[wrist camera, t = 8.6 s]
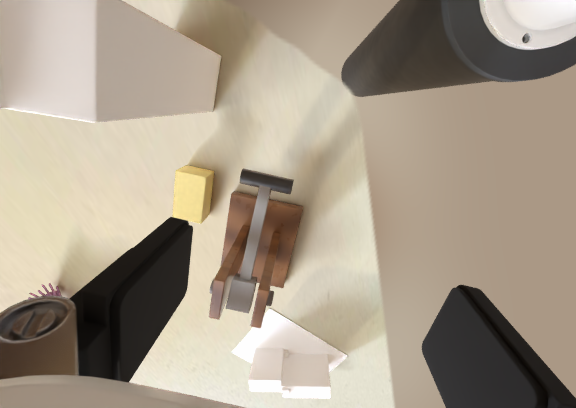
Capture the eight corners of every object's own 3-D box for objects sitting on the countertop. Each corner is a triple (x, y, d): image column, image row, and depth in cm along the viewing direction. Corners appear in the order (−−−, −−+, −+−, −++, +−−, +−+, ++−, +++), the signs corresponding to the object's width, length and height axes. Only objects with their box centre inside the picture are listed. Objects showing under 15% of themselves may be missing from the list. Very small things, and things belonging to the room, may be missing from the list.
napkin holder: (349, 355, 43) (355, 391, 38) (306, 394, 47) (306, 432, 41) (269, 307, 41) (263, 338, 35) (230, 352, 44) (220, 387, 39)
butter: (186, 164, 34) (175, 170, 31) (214, 171, 34) (206, 177, 31) (182, 208, 36) (172, 217, 33) (209, 214, 36) (201, 224, 33)
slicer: (233, 190, 35) (195, 236, 23) (302, 206, 35) (301, 259, 23) (221, 269, 39) (184, 343, 27) (283, 283, 39) (273, 362, 27)
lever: (245, 170, 28) (241, 167, 25) (293, 180, 28) (294, 178, 25) (217, 296, 28) (210, 305, 25) (265, 306, 28) (263, 317, 25)
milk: (222, 55, 30) (33, -56, 9) (213, 113, 32) (43, 129, 11) (166, 40, 29) (-159, -110, 9) (161, 99, 32) (-110, 89, 11)
